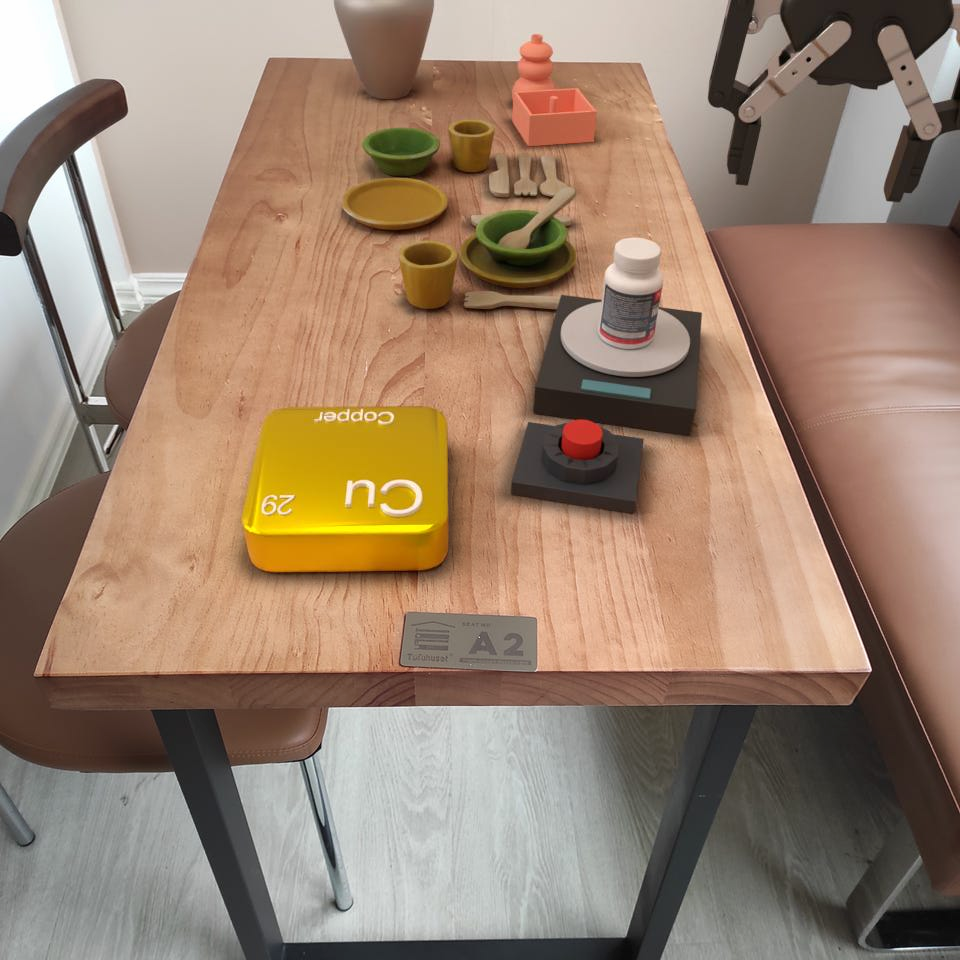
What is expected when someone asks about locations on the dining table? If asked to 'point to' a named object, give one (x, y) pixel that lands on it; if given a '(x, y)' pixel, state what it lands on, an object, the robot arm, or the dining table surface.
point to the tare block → (578, 470)
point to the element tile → (349, 490)
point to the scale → (620, 371)
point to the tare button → (581, 439)
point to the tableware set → (499, 237)
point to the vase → (385, 41)
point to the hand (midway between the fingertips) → (815, 188)
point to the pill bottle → (631, 294)
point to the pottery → (548, 102)
